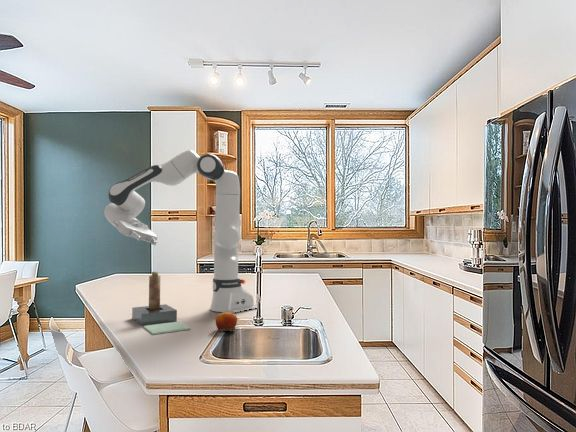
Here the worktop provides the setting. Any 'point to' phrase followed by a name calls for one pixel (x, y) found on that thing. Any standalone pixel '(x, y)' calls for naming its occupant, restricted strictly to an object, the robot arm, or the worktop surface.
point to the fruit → (226, 321)
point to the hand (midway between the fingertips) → (147, 241)
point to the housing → (154, 315)
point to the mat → (166, 328)
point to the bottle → (154, 292)
